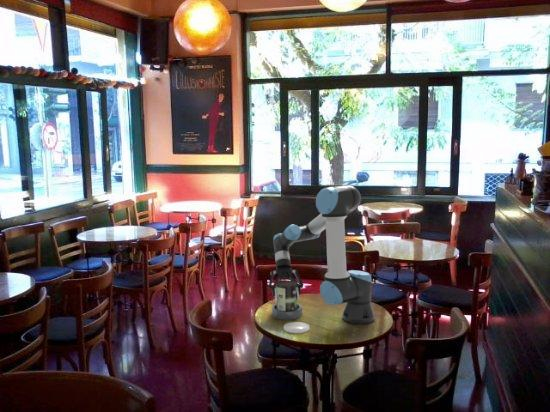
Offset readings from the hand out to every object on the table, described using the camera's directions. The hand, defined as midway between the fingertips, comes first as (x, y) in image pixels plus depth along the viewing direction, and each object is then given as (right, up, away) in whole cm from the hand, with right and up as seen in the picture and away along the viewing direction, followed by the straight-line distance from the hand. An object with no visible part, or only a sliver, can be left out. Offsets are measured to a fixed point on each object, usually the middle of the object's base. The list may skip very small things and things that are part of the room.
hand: (287, 301), depth 257 cm
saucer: (+4, -10, -14) cm, 18 cm away
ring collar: (0, -7, +4) cm, 8 cm away
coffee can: (0, -6, +4) cm, 7 cm away
